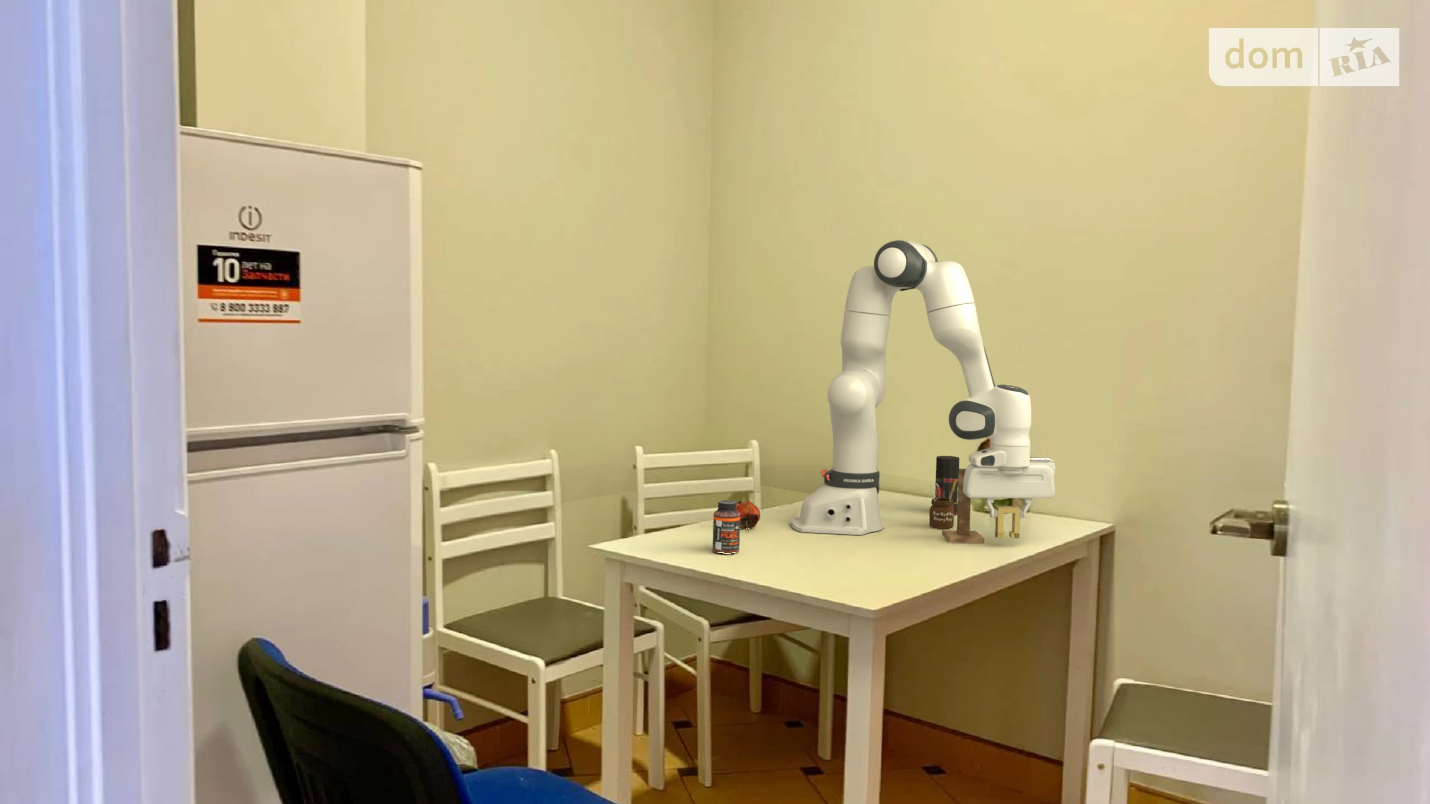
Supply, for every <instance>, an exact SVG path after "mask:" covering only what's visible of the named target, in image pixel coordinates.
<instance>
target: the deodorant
mask: <svg viewBox="0 0 1430 804" xmlns="http://www.w3.org/2000/svg"><path fill="white" fill-rule="evenodd" d="M935 459H936V460H935V463H936V464H935V483H937V485H936V484H934V485H935V486H934V491H935V492H934V498H950V495H951V489H952V486H953V483H954V480H955V479H956V480H957V482H956V485H955V489H954V492H953V494H952V497H951V499H952V500H953V505H952V507H953V509H954V515H955V516H957V510H958V482H959V469H960V457H959V456H953V455H938V456H936V458H935ZM937 487H938V488H937ZM936 492H937V493H936ZM939 492H940V493H939ZM939 495H940V497H939ZM935 496H936V497H935Z"/></svg>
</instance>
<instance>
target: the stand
mask: <svg viewBox="0 0 1430 804" xmlns="http://www.w3.org/2000/svg"><path fill="white" fill-rule="evenodd" d="M965 470H966V468H959V482H958V510H957V515H956V516H957V517H956V518H957V519H956V530H955V529H954V530H953V529H952V530H951V529H941V530H942V531H941V536H942V535H943V536H944V537H945V538H946V539H947V540H948V541H949V542H961V543H960V544H985V537H983V536H982V534H980V533H979V532H978V531H977V530H971V529H970V528H971V501H972V500H971V499H972V498H969V497H967V496H966V495H965V494H964V493H963V481H964V475H965ZM943 536H942V537H943ZM944 537H943V538H944ZM945 538H944V539H945ZM946 539H945V540H946ZM947 540H946V541H947ZM948 541H947V542H948ZM949 542H948V543H949Z"/></svg>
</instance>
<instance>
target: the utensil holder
mask: <svg viewBox="0 0 1430 804" xmlns="http://www.w3.org/2000/svg"><path fill="white" fill-rule="evenodd" d="M956 482H957V480H956V479H955V480H954V483H953V486H952V489H951V495H950V498H935V497H936V496H935V494H931V497H932V498H931V505H930V508H929V514H928V515H929V516H928V517H929V519H928V523H929V527H930V528H931V529H935V528H937V529H936V530H951V529H953V528H954V521H955V516H954V509H953V507H952V505H953V500H952V499H951V497H952V494H953V492H954V489H955V485H956ZM935 484H936V485H937V483H936V482H934V483H932V484H931V485H930V489H929V490H930V493H935V490H934V488H932V487H934V485H935ZM937 488H938V487H937ZM933 490H934V491H933ZM936 493H937V492H936ZM939 493H940V492H939ZM939 497H940V495H939ZM950 528H951V529H950Z"/></svg>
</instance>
